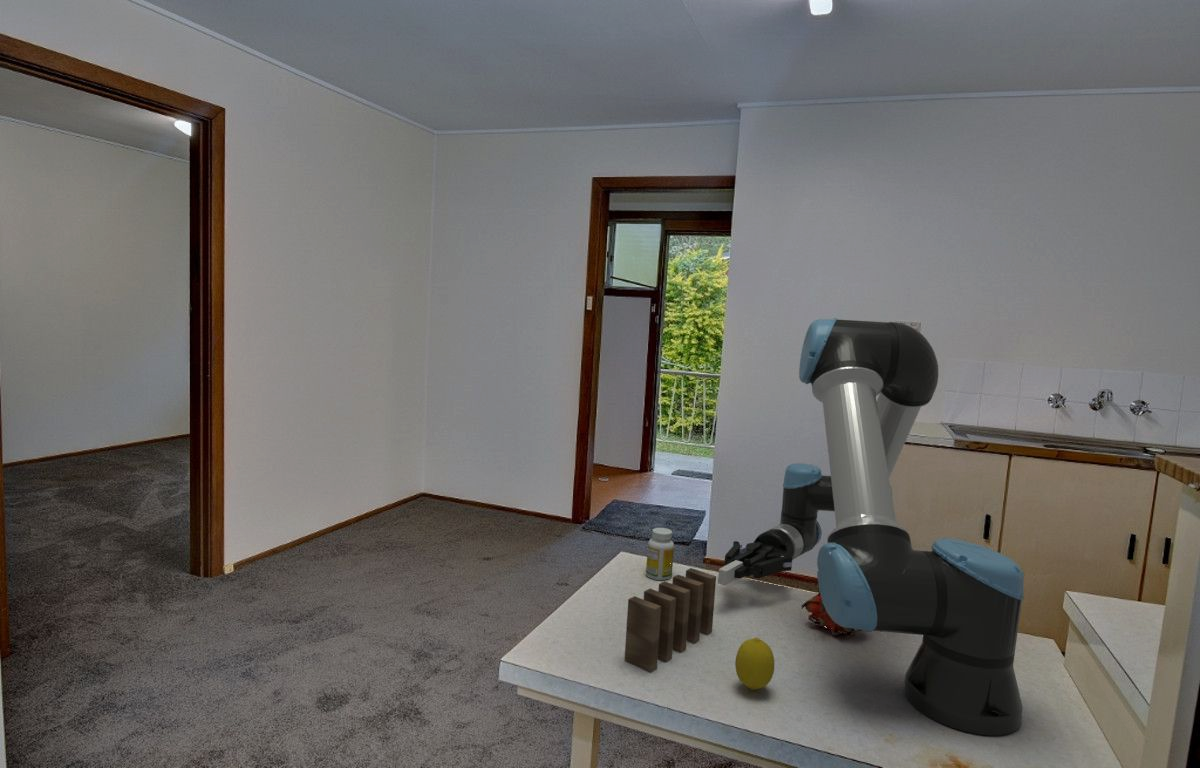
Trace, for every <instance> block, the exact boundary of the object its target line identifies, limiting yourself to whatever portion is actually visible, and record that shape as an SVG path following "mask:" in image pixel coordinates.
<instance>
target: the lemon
mask: <svg viewBox="0 0 1200 768" xmlns="http://www.w3.org/2000/svg"><path fill="white" fill-rule="evenodd" d="M736 652H737V653H736V655H735V672H736V676H737V678H738V680H739V681H740V682H741V683H742V685H744V686H746V687H747V688H749V690H750V691H752V692H753V691H755V690H758V689H759V690H760V689H762V688H764V687H766V686H768V685H769V683H770V682H771V680H772V678H773V676H774V672H775V657H774V653H773V650H772V648H771V647H770V645H769V644H768V643H766V642H765V641H764V640H762V639H761V638H760V637H757V636H756V637H753V638H749V639H747V640H745V641H744V642H743V643H741V644H740V646H739V648H738V650H737V651H736Z"/></svg>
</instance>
